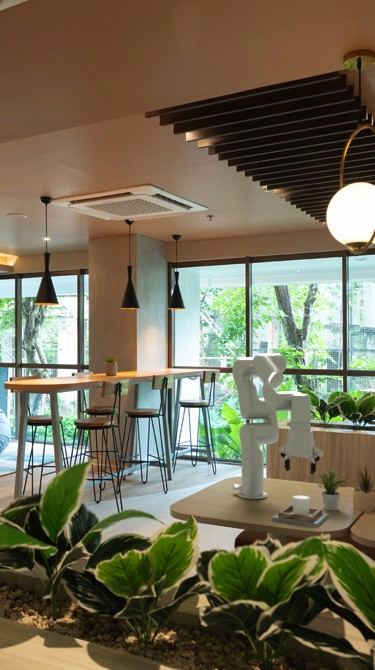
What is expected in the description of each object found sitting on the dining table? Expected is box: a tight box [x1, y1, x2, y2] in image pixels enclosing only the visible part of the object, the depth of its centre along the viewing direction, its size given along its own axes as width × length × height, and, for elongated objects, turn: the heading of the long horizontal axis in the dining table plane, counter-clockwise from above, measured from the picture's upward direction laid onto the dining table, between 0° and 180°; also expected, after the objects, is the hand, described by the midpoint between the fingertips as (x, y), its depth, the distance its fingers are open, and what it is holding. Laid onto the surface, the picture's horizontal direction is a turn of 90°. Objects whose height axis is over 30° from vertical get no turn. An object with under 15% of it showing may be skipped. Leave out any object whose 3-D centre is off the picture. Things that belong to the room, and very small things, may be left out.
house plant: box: [314, 466, 351, 511], centre depth 241 cm, size 14×14×16 cm
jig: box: [271, 504, 329, 528], centre depth 227 cm, size 17×15×3 cm
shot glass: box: [291, 494, 311, 516], centre depth 227 cm, size 7×7×7 cm
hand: (300, 471), depth 227 cm, fingers open, 9 cm apart
